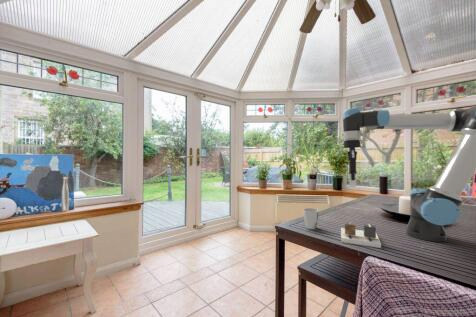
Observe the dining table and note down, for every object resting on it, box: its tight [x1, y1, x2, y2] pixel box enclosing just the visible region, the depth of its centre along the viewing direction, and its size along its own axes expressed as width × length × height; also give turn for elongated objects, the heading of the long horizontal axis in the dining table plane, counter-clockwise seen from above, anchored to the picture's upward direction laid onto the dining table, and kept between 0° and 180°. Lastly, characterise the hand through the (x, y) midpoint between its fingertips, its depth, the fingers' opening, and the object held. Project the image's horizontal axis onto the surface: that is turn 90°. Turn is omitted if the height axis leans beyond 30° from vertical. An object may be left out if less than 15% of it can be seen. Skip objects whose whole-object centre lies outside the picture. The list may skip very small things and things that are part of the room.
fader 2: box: [363, 223, 377, 238], centre depth 98 cm, size 4×3×5 cm
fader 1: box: [344, 221, 357, 236], centre depth 102 cm, size 4×3×5 cm
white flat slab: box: [340, 227, 382, 249], centre depth 103 cm, size 16×15×2 cm
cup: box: [302, 207, 319, 230], centre depth 119 cm, size 8×8×10 cm
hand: (352, 186), depth 108 cm, fingers closed
